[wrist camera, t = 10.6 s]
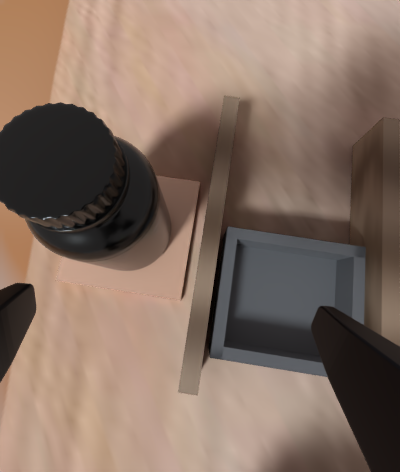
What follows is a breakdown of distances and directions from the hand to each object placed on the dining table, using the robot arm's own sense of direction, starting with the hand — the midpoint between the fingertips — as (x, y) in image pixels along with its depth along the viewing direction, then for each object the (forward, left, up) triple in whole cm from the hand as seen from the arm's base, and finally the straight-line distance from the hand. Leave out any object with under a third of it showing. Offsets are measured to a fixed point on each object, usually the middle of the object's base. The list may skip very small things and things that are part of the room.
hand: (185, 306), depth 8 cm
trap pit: (+5, -4, -13) cm, 15 cm away
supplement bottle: (-1, +7, -12) cm, 14 cm away
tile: (-1, +7, -13) cm, 15 cm away
